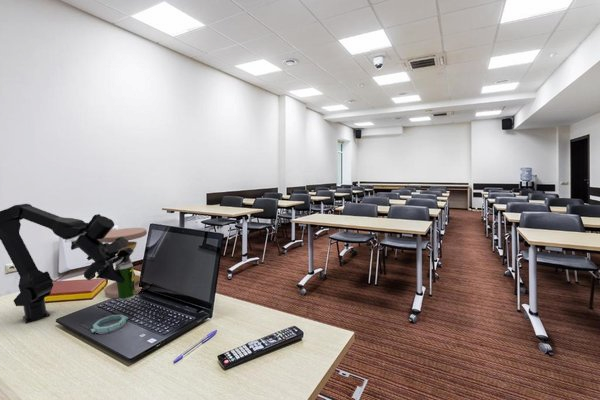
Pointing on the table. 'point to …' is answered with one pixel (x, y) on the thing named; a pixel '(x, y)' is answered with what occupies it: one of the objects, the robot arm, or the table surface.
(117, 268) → the beer can
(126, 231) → the hourglass
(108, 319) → the teal ring frame
